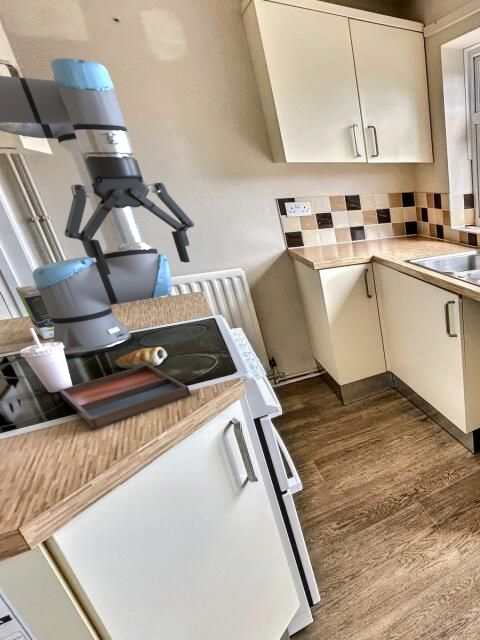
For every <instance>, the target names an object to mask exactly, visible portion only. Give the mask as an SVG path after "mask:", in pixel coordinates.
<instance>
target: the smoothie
mask: <svg viewBox="0 0 480 640" xmlns="http://www.w3.org/2000/svg"><path fill="white" fill-rule="evenodd" d="M28 330H29V332H30V334H31V336H32V338H33V340H34V343H35V344H34V345H33V344H32V345H30V346H27V347H24V348H22V349H20V350H19V354H20V357H21V358H24V359H25V361H26V362H27V364H28V365H29V366H30V368H31V369H32V370H33V372H34V373H35V375H36V376H37V378H38V379H39V381H40V382H41V383H42V385H43V386H44V388H45V389H46V390H47V392H48V393H58V392H59V390H60V389H64V388H67V387H71V386H73V382H72V379H71V375H70V371H69V367H68V361H67V357H65V354H64V351H63V348H64V345H63V343H62V342H54V341H50V342H44V343H41V342H40V339H39V338H38V335H37V333H36V332H35V331H36V330H35V328H34V327H30V328H28ZM59 393H60V392H59Z"/></svg>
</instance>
